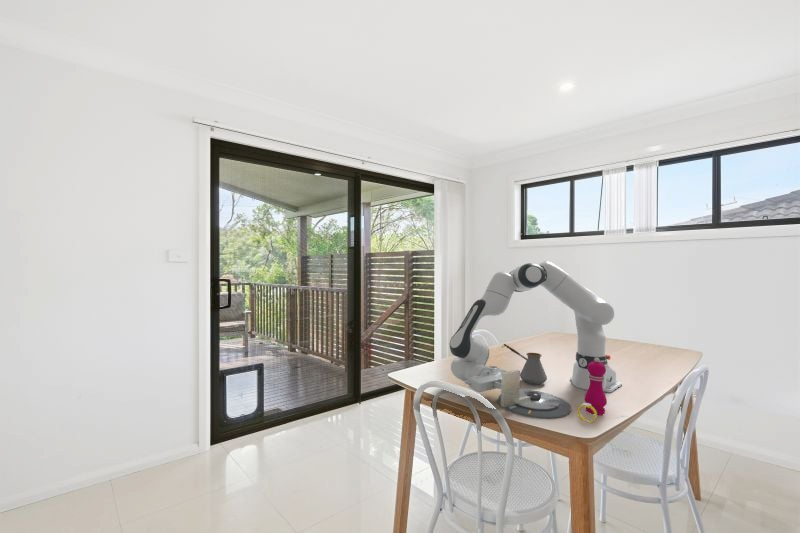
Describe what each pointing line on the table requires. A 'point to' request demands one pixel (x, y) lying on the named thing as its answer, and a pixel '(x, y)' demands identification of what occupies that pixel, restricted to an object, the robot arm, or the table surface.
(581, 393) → the table surface
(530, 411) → the dial base
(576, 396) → the table surface
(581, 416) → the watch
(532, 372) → the coffee pot
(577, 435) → the table surface
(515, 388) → the dial
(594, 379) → the pepper mill
